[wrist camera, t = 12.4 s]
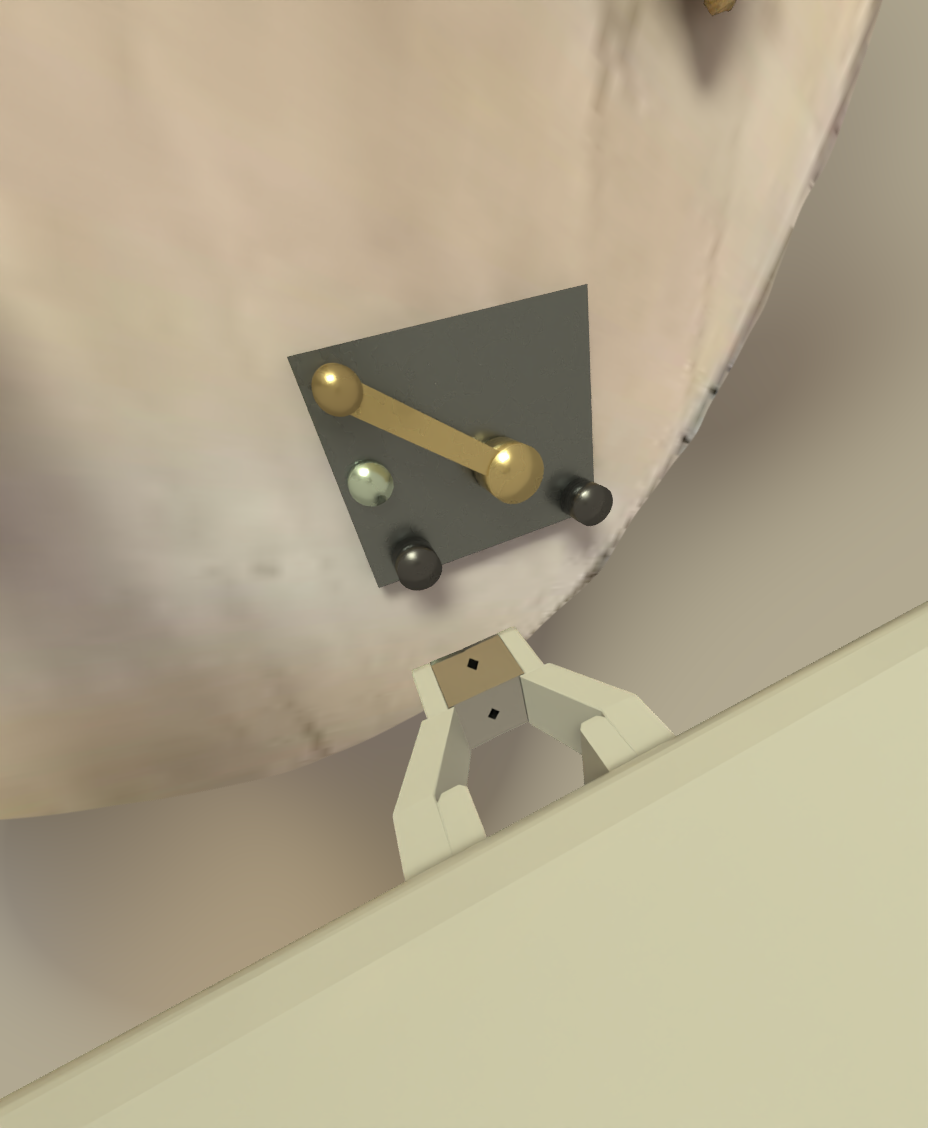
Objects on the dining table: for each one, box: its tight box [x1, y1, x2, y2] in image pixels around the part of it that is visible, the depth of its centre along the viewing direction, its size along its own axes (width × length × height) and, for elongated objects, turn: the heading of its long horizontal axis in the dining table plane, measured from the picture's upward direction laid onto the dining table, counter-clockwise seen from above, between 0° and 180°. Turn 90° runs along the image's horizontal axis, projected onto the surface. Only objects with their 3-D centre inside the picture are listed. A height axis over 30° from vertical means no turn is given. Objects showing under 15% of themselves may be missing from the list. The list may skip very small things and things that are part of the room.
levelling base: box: [287, 284, 613, 590], centre depth 34 cm, size 20×24×5 cm
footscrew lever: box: [311, 363, 544, 504], centre depth 31 cm, size 19×5×4 cm, turn 63°
